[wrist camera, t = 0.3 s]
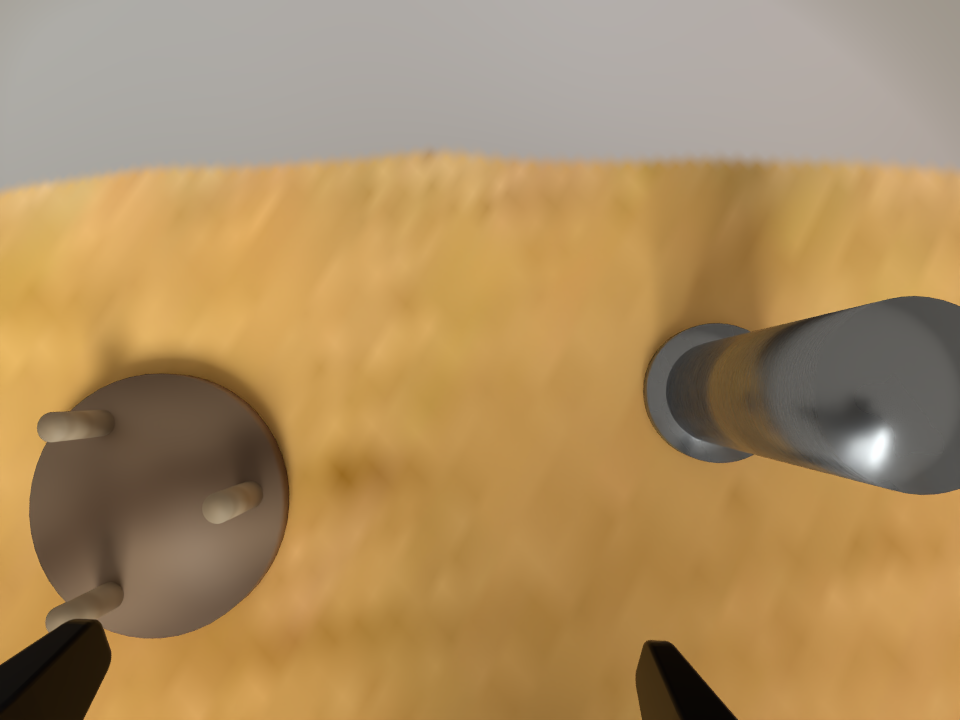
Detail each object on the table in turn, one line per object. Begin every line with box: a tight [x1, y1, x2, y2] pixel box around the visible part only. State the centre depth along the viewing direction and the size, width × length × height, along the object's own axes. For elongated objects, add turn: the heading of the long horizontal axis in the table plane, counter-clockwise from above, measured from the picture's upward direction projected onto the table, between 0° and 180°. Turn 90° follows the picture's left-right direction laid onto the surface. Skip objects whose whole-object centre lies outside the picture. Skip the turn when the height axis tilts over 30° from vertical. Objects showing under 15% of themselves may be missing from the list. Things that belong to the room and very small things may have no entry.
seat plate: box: [29, 374, 289, 638], centre depth 21 cm, size 12×12×3 cm
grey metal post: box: [643, 296, 960, 495], centre depth 17 cm, size 6×6×11 cm
